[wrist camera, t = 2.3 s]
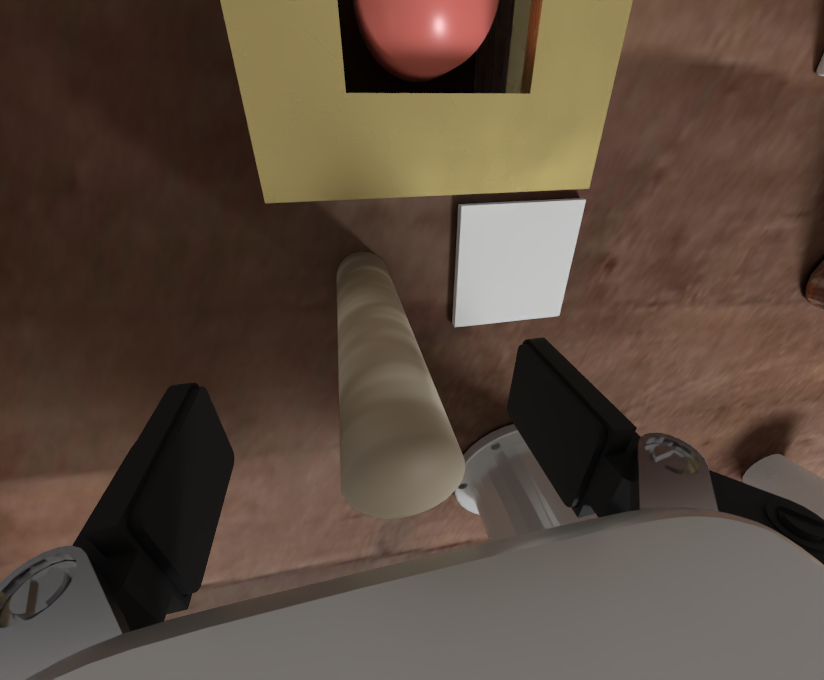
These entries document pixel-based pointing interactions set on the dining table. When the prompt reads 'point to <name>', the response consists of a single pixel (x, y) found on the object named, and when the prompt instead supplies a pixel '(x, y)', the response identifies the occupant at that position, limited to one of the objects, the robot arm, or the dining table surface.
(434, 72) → the button
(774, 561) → the robot arm
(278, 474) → the dining table surface
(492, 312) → the pad
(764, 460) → the dixie cup
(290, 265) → the dining table surface
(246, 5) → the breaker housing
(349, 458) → the beige cylinder rod
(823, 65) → the medicine bottle
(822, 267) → the sauce bottle
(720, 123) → the dining table surface
